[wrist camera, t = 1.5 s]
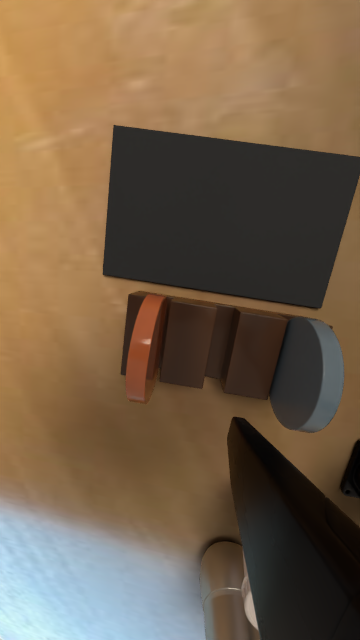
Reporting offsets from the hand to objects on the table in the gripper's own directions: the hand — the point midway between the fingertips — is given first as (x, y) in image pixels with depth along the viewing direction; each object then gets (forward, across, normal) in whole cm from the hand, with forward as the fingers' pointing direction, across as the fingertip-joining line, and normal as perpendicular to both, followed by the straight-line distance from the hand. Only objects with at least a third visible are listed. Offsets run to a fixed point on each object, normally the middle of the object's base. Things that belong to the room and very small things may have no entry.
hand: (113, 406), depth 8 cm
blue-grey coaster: (+8, -11, 0) cm, 14 cm away
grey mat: (+14, -4, -10) cm, 17 cm away
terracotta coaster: (+8, 0, +1) cm, 9 cm away
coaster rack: (+13, -6, +1) cm, 14 cm away
